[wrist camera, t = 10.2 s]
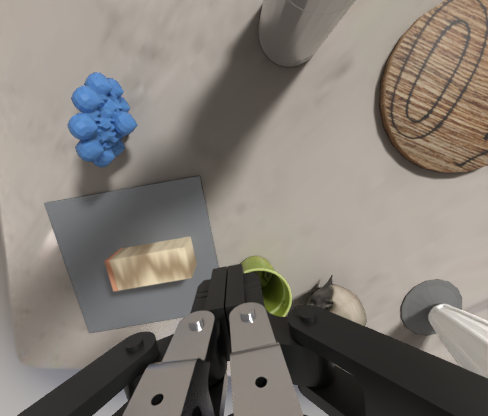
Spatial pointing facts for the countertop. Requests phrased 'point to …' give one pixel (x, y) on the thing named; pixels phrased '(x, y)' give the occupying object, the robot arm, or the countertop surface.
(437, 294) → the cup
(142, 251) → the maple block
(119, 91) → the grapes
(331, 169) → the countertop surface
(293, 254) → the countertop surface
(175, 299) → the rubber mat
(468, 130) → the trivet
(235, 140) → the countertop surface
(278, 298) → the plant pot
